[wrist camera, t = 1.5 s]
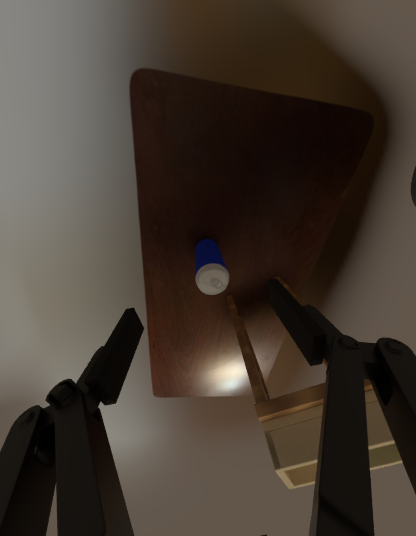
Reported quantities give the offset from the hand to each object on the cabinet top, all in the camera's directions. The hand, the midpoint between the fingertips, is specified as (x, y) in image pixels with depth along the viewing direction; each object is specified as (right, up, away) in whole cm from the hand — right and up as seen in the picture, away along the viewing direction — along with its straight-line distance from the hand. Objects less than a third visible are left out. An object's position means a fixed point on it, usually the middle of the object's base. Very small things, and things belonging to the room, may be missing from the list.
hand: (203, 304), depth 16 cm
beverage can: (0, +8, +22) cm, 23 cm away
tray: (+16, -16, +6) cm, 23 cm away
